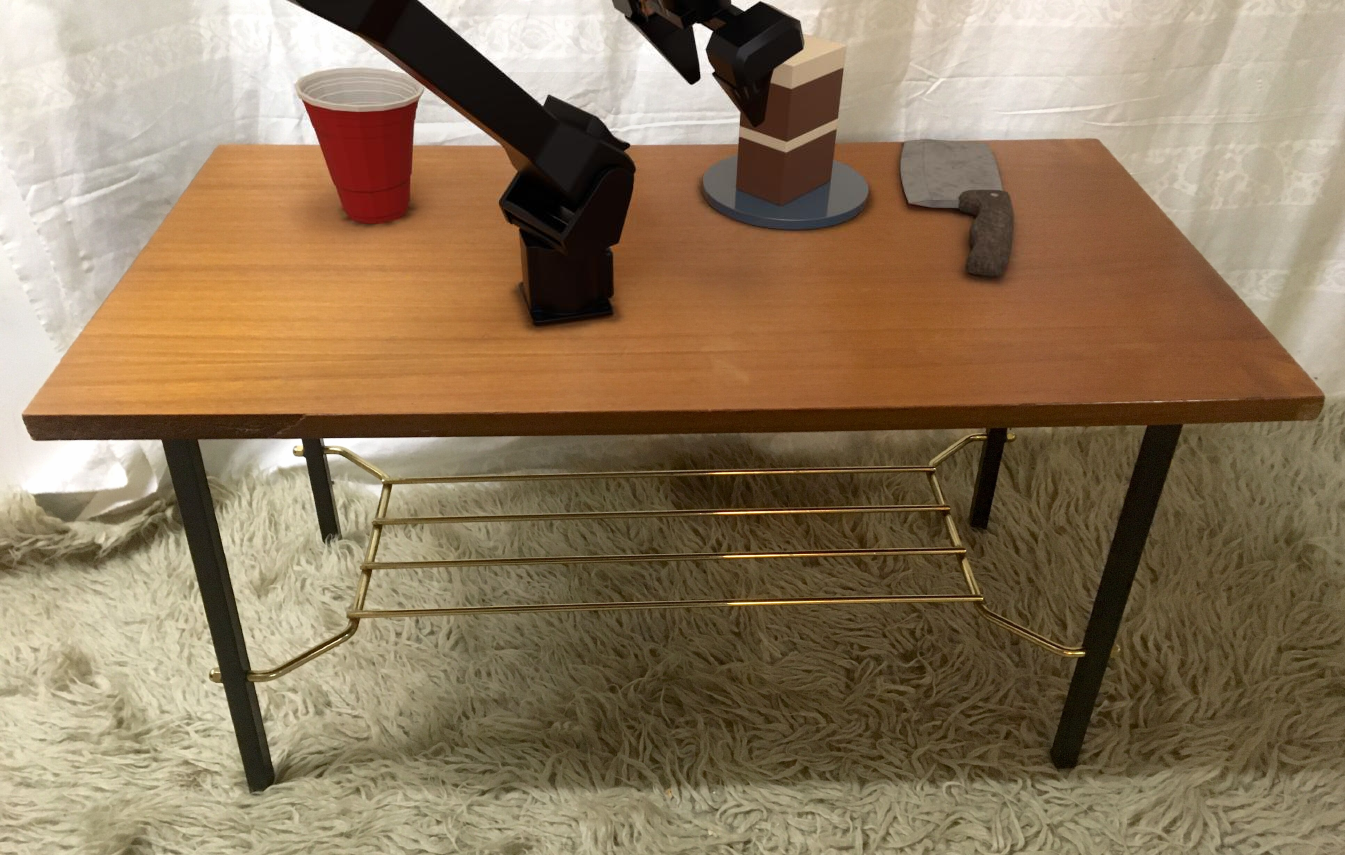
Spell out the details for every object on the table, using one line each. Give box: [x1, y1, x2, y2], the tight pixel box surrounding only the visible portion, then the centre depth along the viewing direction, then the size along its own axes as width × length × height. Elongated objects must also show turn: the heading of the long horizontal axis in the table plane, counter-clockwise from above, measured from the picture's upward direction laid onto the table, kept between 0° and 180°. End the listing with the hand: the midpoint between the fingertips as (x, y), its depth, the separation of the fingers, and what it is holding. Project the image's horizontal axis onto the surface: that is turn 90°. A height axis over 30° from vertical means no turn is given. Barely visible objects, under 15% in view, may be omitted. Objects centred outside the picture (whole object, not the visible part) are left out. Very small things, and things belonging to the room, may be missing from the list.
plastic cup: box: [293, 67, 425, 224], centre depth 95 cm, size 11×11×12 cm
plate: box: [702, 154, 870, 231], centre depth 103 cm, size 16×16×1 cm
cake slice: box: [736, 33, 847, 206], centre depth 98 cm, size 8×6×13 cm
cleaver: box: [899, 138, 1015, 277], centre depth 101 cm, size 29×10×2 cm, turn 173°
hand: (725, 102), depth 87 cm, fingers open, 9 cm apart
